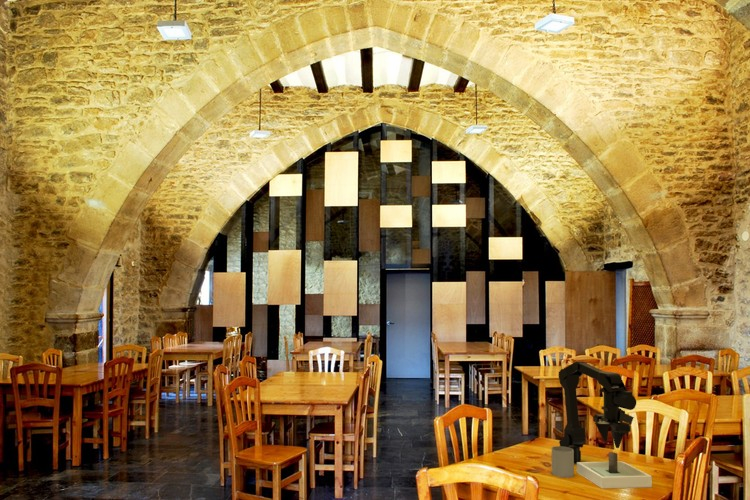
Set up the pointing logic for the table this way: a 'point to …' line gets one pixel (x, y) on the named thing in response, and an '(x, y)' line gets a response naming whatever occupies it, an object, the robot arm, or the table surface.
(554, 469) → the cup
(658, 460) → the table surface
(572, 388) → the robot arm
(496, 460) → the table surface
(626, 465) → the tray
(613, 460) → the peg
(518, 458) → the table surface
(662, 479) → the table surface
